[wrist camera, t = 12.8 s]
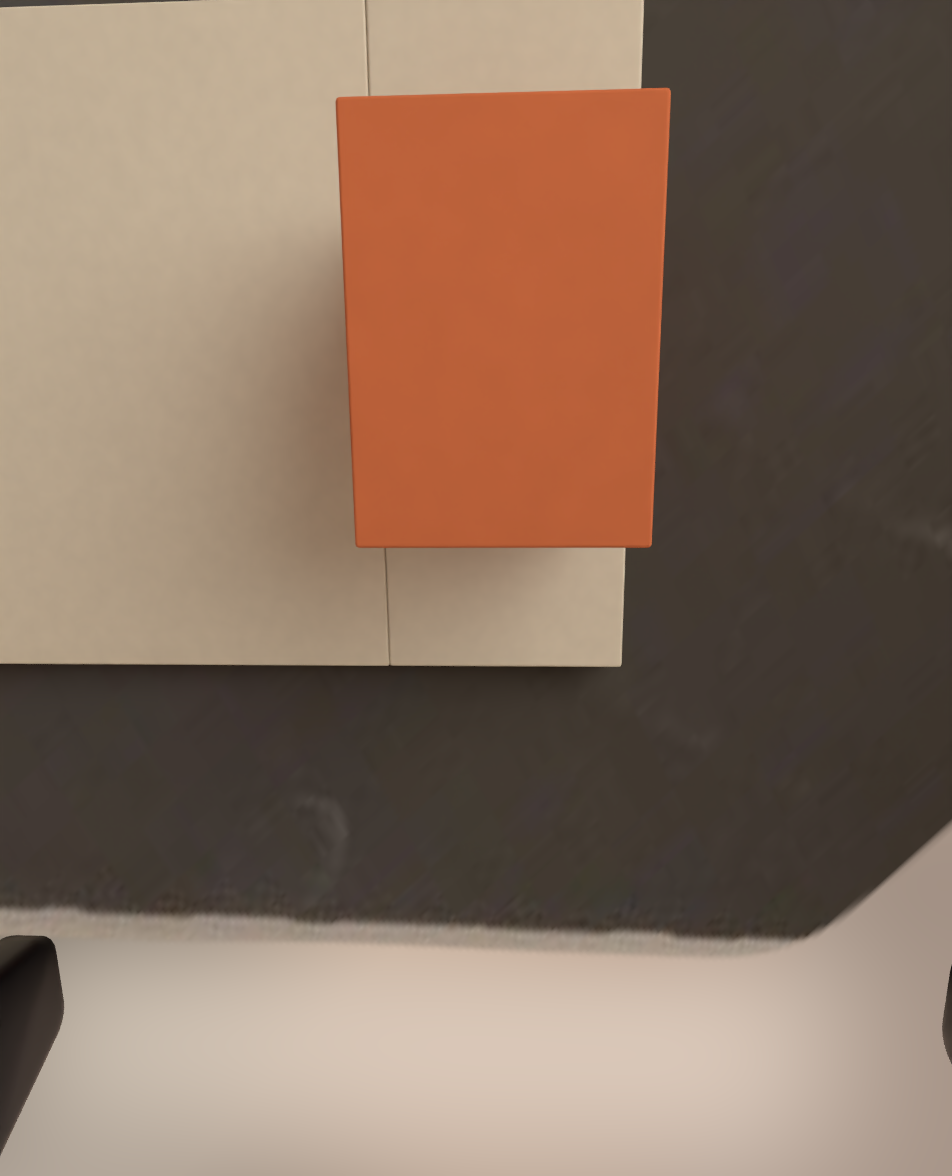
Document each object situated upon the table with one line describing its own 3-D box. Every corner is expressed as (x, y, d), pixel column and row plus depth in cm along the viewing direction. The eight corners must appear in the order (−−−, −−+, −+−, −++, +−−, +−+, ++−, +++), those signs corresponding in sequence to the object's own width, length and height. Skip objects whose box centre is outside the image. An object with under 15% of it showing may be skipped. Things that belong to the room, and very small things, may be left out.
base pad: (616, 654, 20) (621, 667, 19) (-87, 651, 20) (-117, 663, 19) (637, 8, 16) (645, -17, 15) (-198, 36, 17) (-241, 14, 16)
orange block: (601, 494, 19) (652, 548, 12) (411, 495, 19) (354, 548, 12) (609, 210, 17) (672, 86, 10) (404, 214, 17) (334, 95, 11)
